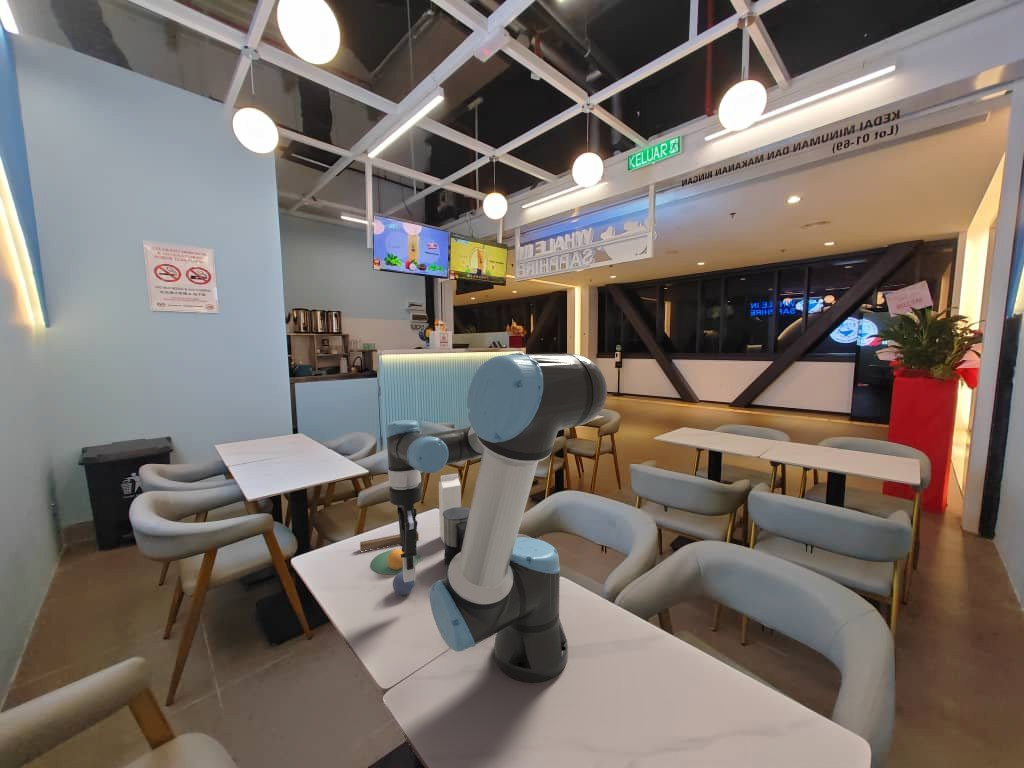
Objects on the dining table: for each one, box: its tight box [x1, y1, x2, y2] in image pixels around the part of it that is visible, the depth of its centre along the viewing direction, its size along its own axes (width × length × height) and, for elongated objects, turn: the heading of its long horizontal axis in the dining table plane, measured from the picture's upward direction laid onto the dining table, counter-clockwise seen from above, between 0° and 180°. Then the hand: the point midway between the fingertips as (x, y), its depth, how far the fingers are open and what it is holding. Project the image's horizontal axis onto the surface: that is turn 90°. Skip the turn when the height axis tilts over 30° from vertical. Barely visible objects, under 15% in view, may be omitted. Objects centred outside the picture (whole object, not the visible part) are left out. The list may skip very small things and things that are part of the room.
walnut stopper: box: [359, 530, 420, 552], centre depth 128 cm, size 2×18×2 cm, turn 115°
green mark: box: [370, 548, 420, 575], centre depth 118 cm, size 14×14×1 cm
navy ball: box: [392, 571, 416, 596], centre depth 102 cm, size 6×6×6 cm
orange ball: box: [387, 548, 404, 570], centre depth 114 cm, size 6×6×6 cm
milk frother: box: [443, 506, 471, 567], centre depth 118 cm, size 14×16×15 cm
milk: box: [438, 473, 462, 544], centre depth 131 cm, size 6×6×22 cm
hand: (409, 579), depth 96 cm, fingers closed
